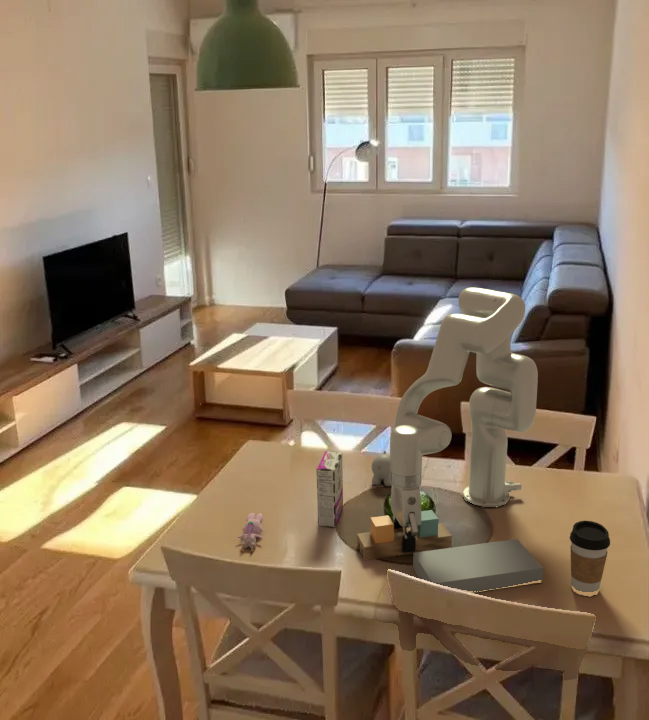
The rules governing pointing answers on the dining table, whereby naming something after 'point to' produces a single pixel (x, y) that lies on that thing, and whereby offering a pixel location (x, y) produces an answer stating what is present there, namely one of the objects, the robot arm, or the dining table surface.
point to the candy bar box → (329, 489)
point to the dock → (479, 566)
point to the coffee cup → (588, 555)
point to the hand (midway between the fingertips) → (403, 543)
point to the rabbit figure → (251, 531)
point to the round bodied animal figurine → (381, 469)
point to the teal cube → (428, 524)
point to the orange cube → (381, 529)
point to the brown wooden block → (395, 547)
